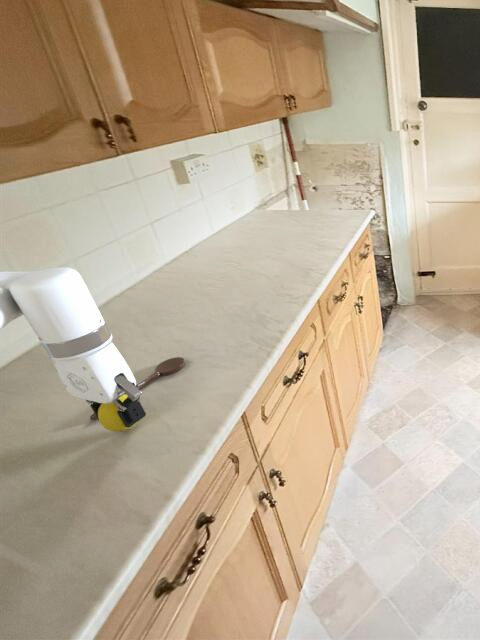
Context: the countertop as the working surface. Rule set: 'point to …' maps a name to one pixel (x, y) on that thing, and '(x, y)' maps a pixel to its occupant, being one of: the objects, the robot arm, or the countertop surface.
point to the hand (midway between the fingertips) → (122, 417)
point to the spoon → (159, 373)
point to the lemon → (111, 416)
